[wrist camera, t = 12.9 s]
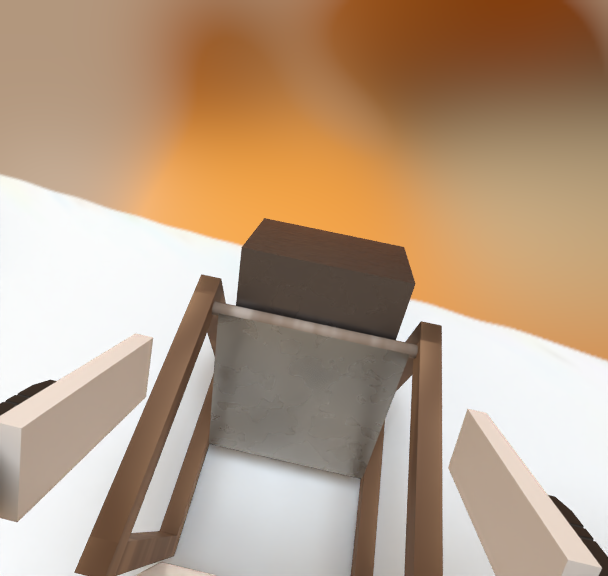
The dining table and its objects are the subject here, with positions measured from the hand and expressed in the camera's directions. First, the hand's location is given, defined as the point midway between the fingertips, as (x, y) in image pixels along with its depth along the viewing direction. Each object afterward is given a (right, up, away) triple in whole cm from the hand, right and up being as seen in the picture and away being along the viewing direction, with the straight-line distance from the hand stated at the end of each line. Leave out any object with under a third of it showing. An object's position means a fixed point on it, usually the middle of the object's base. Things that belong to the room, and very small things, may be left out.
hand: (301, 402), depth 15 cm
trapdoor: (+1, +1, +21) cm, 21 cm away
